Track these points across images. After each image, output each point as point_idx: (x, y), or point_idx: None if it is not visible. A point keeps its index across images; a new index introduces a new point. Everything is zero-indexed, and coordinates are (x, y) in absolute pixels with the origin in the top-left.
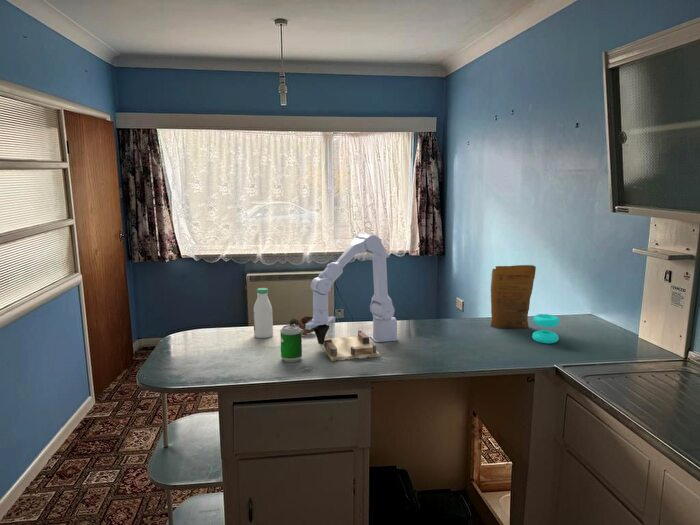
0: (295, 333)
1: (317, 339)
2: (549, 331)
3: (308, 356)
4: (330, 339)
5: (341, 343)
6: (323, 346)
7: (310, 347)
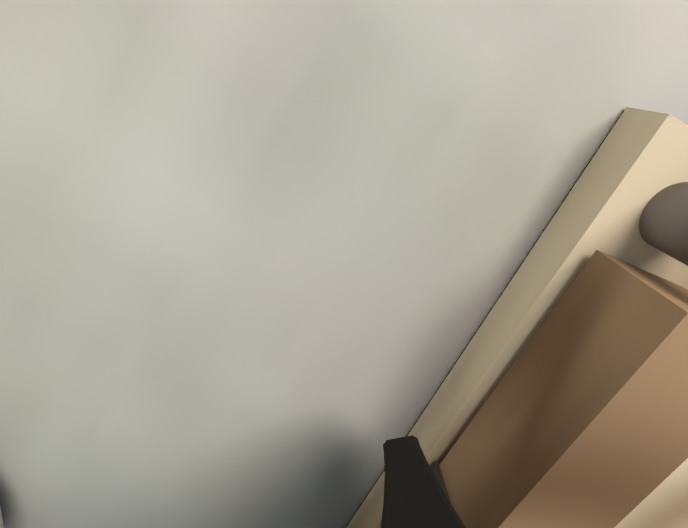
0: None
1: (383, 507)
2: None
3: (129, 489)
4: None
5: (685, 468)
6: (442, 423)
7: (331, 245)
